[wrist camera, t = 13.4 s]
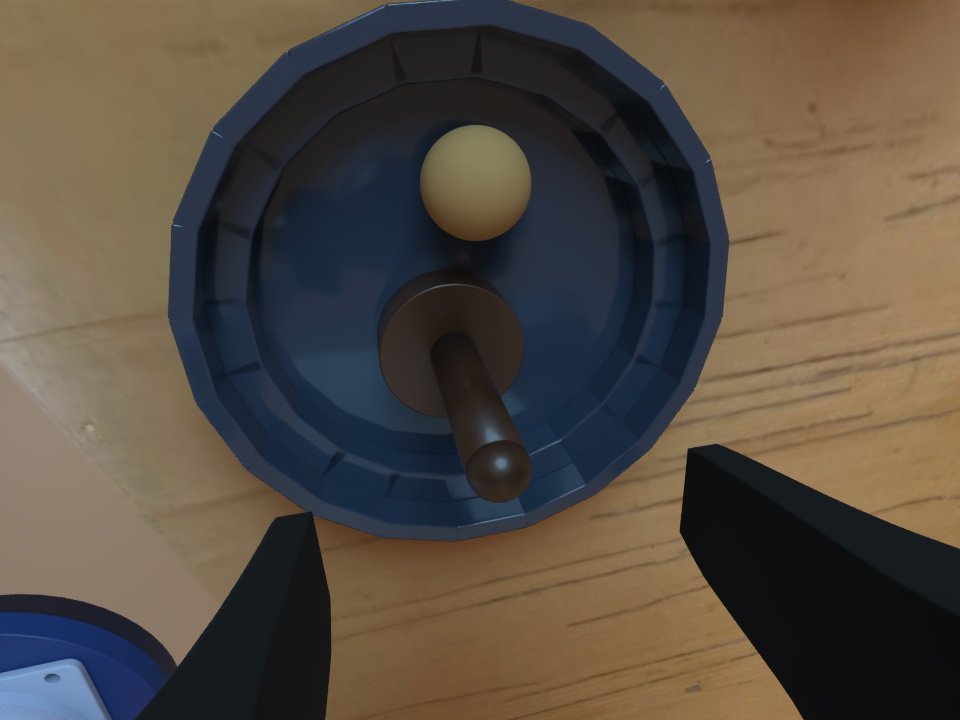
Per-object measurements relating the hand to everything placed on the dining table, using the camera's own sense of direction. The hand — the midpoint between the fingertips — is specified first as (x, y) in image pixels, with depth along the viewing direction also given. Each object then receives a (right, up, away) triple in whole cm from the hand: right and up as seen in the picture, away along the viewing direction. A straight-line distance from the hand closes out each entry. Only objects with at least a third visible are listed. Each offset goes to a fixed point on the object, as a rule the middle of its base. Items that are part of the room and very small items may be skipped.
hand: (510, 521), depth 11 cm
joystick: (-2, +4, +8) cm, 9 cm away
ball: (-1, +8, +5) cm, 9 cm away
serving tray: (-1, +5, +8) cm, 10 cm away
